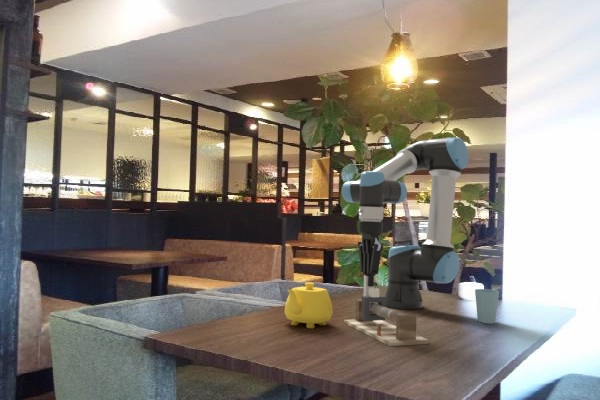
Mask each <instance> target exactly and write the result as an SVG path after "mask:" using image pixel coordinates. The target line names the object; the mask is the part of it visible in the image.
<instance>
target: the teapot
mask: <svg viewBox="0 0 600 400" xmlns="http://www.w3.org/2000/svg"><path fill="white" fill-rule="evenodd" d="M304 285H305V286H297V287H293V288H291V289H287V291H288V297H287V299H286V303H285V306H284V315H285V317H286V318H287V320H289V321H290V323H289V324H290V325H291V326H298V325H299V324H300V323H303V324H304V323H305V324H306V327H305V328H306V329H315V324H317V325H319V326H326V325H327V323H326V322H328V321H330V319H331V318H332V317H333V313H334V312H333V305H332V300H331V297H330V294H329V292H328V290H327V289H326V288H322V287H317V286H315V283H314V282H305V283H304ZM314 286H315V287H314Z"/></svg>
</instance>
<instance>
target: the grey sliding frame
mask: <svg viewBox="0 0 600 400" xmlns="http://www.w3.org/2000/svg"><path fill="white" fill-rule="evenodd" d="M361 299H362V306H361V319H362V320H364V321H373V320H383V321H386V318H383V317H381V316H378V315H376V314H374V313H373V314H369V308H370V302H373V303H377V304H378V305H381V306H383V307H386V308H387V306H386V297H384V295H380V288H377V287H374V288H369V296H363V295H362V296H361Z"/></svg>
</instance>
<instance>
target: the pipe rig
mask: <svg viewBox="0 0 600 400" xmlns="http://www.w3.org/2000/svg"><path fill="white" fill-rule="evenodd" d="M361 306H362V298H361V299H355V319H343V323H344V324H345V325H347V326H349V327H351V328H352V329H355V330H357V331H360V332H361V333H363V334H365V335H367V336H369V337H371V338H373V339H374V340H377V341H379V342H381V343H383V344H385V345H387V346H389V347H398V346H413V345H428V344H430V339H428V338H425V337H423V336H421V335H418V334H417V315H415V314H413V313H412V314H411V313H410V314H409V313H408V314H405V313H402V312H400V311H398V310H394V309H392V308H390V307H387V306H386V307H383V306H381V305H378V303H376V302H370V308H369V314H376V315H378V316H381V317H383V318H385V320H373V321H364V320H362V319H361ZM386 320H388V321H391V322H393V323H395V325H394V324H392V323H389V322H387V321H386Z"/></svg>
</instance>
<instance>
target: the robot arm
mask: <svg viewBox="0 0 600 400" xmlns="http://www.w3.org/2000/svg"><path fill="white" fill-rule="evenodd" d="M469 158H470V155H469V149H468V147H467V145H466V143H465V141H464V140H463V139H462V138H460V137H443V138H431V139H423V140H419V141H416V142H414V143H412V144H409V145H408V146H406V147H404V148H403V149H401V150H399V151H398V152H397V153H396V154H395V156H394V157H393V158H390V159H389V160H388V161H386V162H384V163H383V164H381V165H380V166H378V167H377V168H375V169H374V170H372V171H371V170H367V171H366V170H365V171H362V172H361V173H360V178H359V179H357V180H348V181H346V182H344V183H343V184H342V187H341V195H342V199H343V200H344V201H345V202H347V203H352V204H358V205H359V206H358V207H359V209H358V211H357V212H358V219H359V220H360V221H359V222H358V227H357V228H358V229H357V231H358V233H359V234H361V235H362V236H361V241H357V247H358V255H359V257H358V258H359V268H360V272H361V273H362V274H363V295H362V296H369V288H375V285H374V283H375V276H376V275H378V274H379V270H380V263H381V257H382V252H383V248H384V244H383V243H380V242H379V241H380V238H379V234H380V235H381V234H383V230H384V227H383V226H384V223H383V220H384V204H393V205H396V204H401V203H403V202H404V201H405V199H406V198H407V196H408V195H407V194H408V190H407V186H406V185H405V184H404V183H403V182H401V181H398V180H399V179H401V178H402V177H404V176H405V175H406V174H412V173H414V172H415V171H424V170H425V171H426V170H428V173H429V174H430V176H431V189H430V200H429V208H428V209H429V210H428V217H427V218H428V221H427V227H426V228H427V229H426V230H427V231H426V240H425V241H424V242H422V243H421V248H420V245H417V244H415V245H413V244H412V245H399V246H392V247H390V249H389V250H388V257H387V261H388V262H387V263H388V264H387V265H388V267H387V268H388V269H387V285H386V286H387V287H386V288H385V293H384V294H383V296H384V297H386V308H391V309H392V308H394V309H399V310H400V309H401V310H402V309H403V310H416V309H417V310H418V309H419V310H420V309H422V308H423V305H424V300H423V298H422V297H423V296H422V294H421V290H420V287H419V285H420V284H419V281H421V282H429V283H434V284H448V283H451V282H453V280H454V279H455V278H456V276H457V274H458V273H459V268H460V256H459V255H458V253H456V252H455V246H454V245H453V244H452V243H451V239H452V228H453V216H454V205H455V193H456V186H457V184H456V183H457V179H458V178H459V177H460V176H461V174H462V170H464V169H465V168H467V166H468V164H469Z"/></svg>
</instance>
